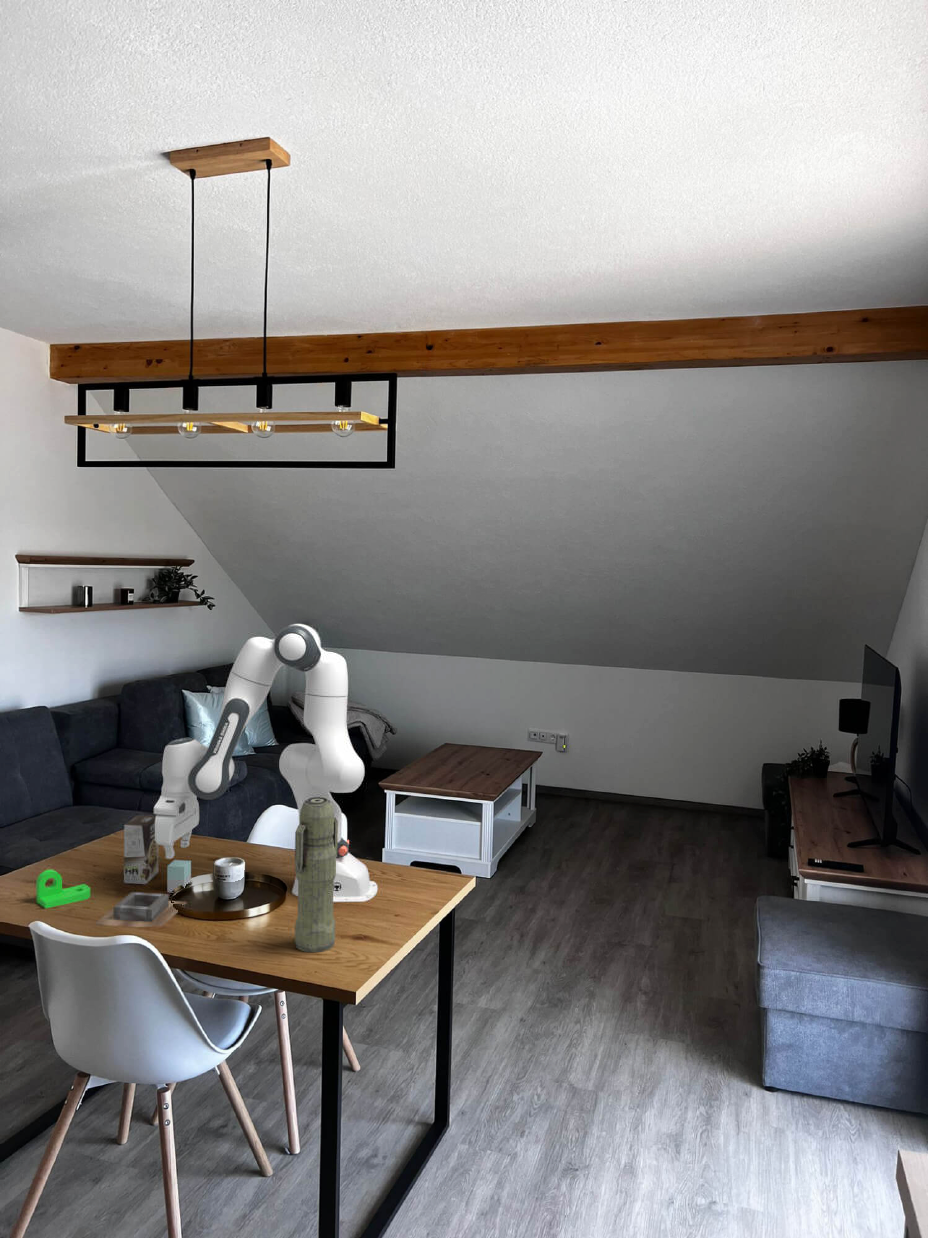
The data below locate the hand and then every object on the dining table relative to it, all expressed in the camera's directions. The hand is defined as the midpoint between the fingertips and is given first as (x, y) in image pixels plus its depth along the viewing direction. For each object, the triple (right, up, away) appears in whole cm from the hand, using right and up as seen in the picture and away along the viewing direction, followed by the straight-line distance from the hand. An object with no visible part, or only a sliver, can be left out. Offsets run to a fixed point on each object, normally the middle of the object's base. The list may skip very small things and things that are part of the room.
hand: (177, 852), depth 238 cm
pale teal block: (0, -10, +1) cm, 10 cm away
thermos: (+41, -14, -33) cm, 55 cm away
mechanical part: (-26, -10, -8) cm, 29 cm away
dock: (-3, -11, -17) cm, 21 cm away
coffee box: (-12, -9, +8) cm, 17 cm away
